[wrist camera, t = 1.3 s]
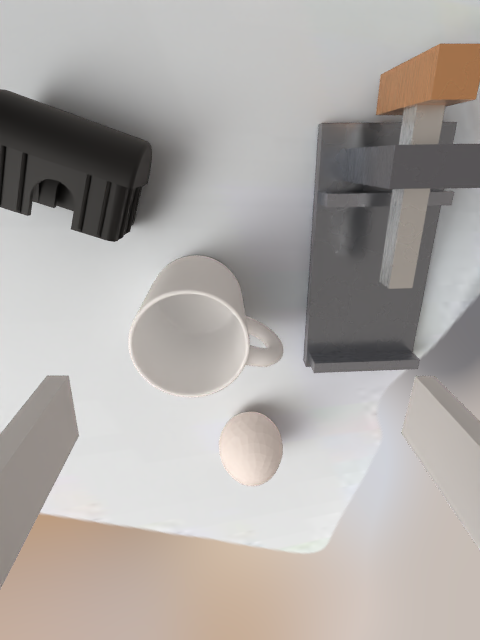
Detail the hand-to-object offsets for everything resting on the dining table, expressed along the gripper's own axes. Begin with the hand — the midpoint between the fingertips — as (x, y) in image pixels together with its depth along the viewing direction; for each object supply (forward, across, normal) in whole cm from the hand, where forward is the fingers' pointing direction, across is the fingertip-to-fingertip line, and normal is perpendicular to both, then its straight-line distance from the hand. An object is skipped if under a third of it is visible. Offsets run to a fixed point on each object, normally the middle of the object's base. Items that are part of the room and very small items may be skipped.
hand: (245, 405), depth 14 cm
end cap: (+22, -12, +8) cm, 26 cm away
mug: (+22, -1, -4) cm, 22 cm away
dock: (+21, +13, +1) cm, 25 cm away
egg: (+22, +2, -18) cm, 28 cm away
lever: (+20, +12, +8) cm, 24 cm away
